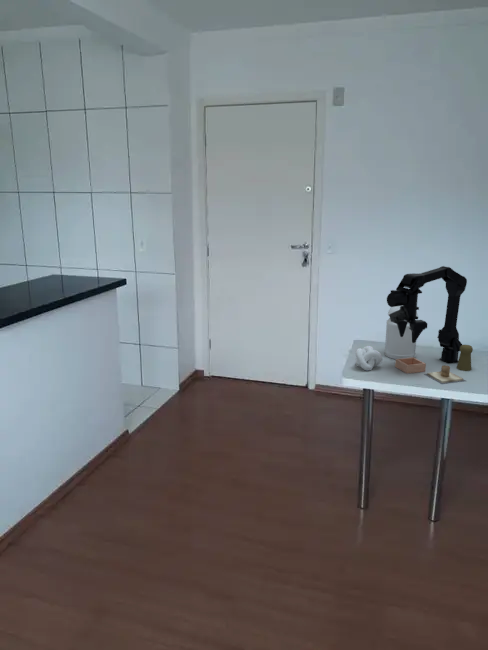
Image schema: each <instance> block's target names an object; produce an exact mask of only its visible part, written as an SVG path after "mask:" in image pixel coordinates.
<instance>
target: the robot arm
mask: <svg viewBox="0 0 488 650" xmlns="http://www.w3.org/2000/svg"><path fill="white" fill-rule="evenodd" d="M440 279H442V281H444V282H445V289H446V292H447V294H448V295H447V303H446V310H445V318H444V319H445V320H444V326H442V329H439V330H438V334H437V340H438V342H439V346H440V347H441V348H442V351H441V357H440V358H439V361H442V362H444V363H445V364H458V361H459V353H460V346H461V345H463V343H462V342H461V341H460V334H459V331H458V328H457V324H458V317H459V307H460V303H461V296H462V294H463V293H464V292H465V291H466V287H467V284H468V280H467V278H466V276H464V275H461V274H460V273H459V272H456V271H455V270H454V269H453V268H452V267H450V266H445V265H443V266H440V267H437V268H434V269H429V270H427V271H424V272H421V273H406V274H404V275H403V277H402V279H401V280H400V282H399V284H398V285H397V287H396V289H392V290H390V292H389V293H388V294H387V297H386V304H387V305H388V306H389V307H390V308H391V307H396V306H401V307H400V310H398V311H395V312H393V313H391V314H389V315H388V316H389V318H390V320H391V322H394V323H396V324H397V326H398V329H399V333H400V337H403V335H404V332H405V329H406V326H407V323H410V328H409V329H410V330H411V331H412V343H415V342H416V343H417V340H418V338H419V337H420V335H421V334H422V333H423V331H425V330H426V329H428V322H427V321H425V320H423V319H419V316H418V317H417V316H416V313H417V314H418V311H420V306H418V300H419V299H418V296H419V294H422V293H423V291H422V290H420V289H421V288H422V287H424V286H425V284H427V283H430V282H434V281H436V280H440ZM417 310H418V311H417Z"/></svg>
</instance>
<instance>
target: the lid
mask: <svg viewBox="0 0 488 650" xmlns="http://www.w3.org/2000/svg"><path fill="white" fill-rule="evenodd" d="M426 374H427V375H428V376H430V377H432V378H434V379H436V380H438V381H439V382H441V383H447V382H455V381H463V379H464V378H462V377H461V376H459V375H457V374H455V373H453V372H451V367H450V366H449V365H446V364H445V365H443V364H442V366H441V371H433V372H432V371H431V372H427V373H426ZM428 376H427V377H428Z"/></svg>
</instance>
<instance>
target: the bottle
mask: <svg viewBox="0 0 488 650" xmlns="http://www.w3.org/2000/svg"><path fill="white" fill-rule="evenodd" d="M400 307H401V306H396V307H390V308H389V310H388V311H387V312H388V313H387V315H388V316H389V314H391V313H393V312H395V311H398V310H400ZM416 316H417V317H418V318H419V315H418V312H417V313H416ZM409 328H410V323H407V326H406V329H405V332H404V335H403V337H400V333H399V329H398V326H397V324H396V323H394V322H391V320H390V317H389V318H388V319H387V320H386V328H385V329H386V330H385V344H384V345H385V346H384V355H385V356H386V357H388V358H389V359H393V360H396V359H402V358H412V357H414V358H416V349H417V341H416V342H415V343H412V331H411V330H410V329H409Z"/></svg>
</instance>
